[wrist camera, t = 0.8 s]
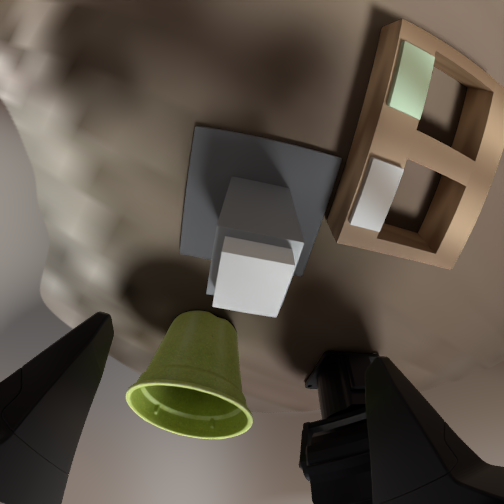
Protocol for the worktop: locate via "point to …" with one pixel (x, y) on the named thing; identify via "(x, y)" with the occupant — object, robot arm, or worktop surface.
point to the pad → (257, 169)
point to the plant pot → (194, 381)
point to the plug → (254, 248)
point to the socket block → (418, 150)
